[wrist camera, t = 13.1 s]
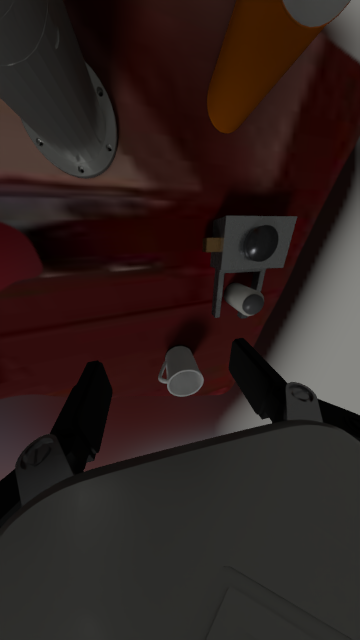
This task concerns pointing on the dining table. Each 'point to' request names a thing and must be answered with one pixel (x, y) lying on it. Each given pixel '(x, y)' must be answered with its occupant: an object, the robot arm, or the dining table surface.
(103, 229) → the dining table surface
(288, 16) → the shaker bottle
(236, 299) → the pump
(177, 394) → the mug
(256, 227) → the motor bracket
